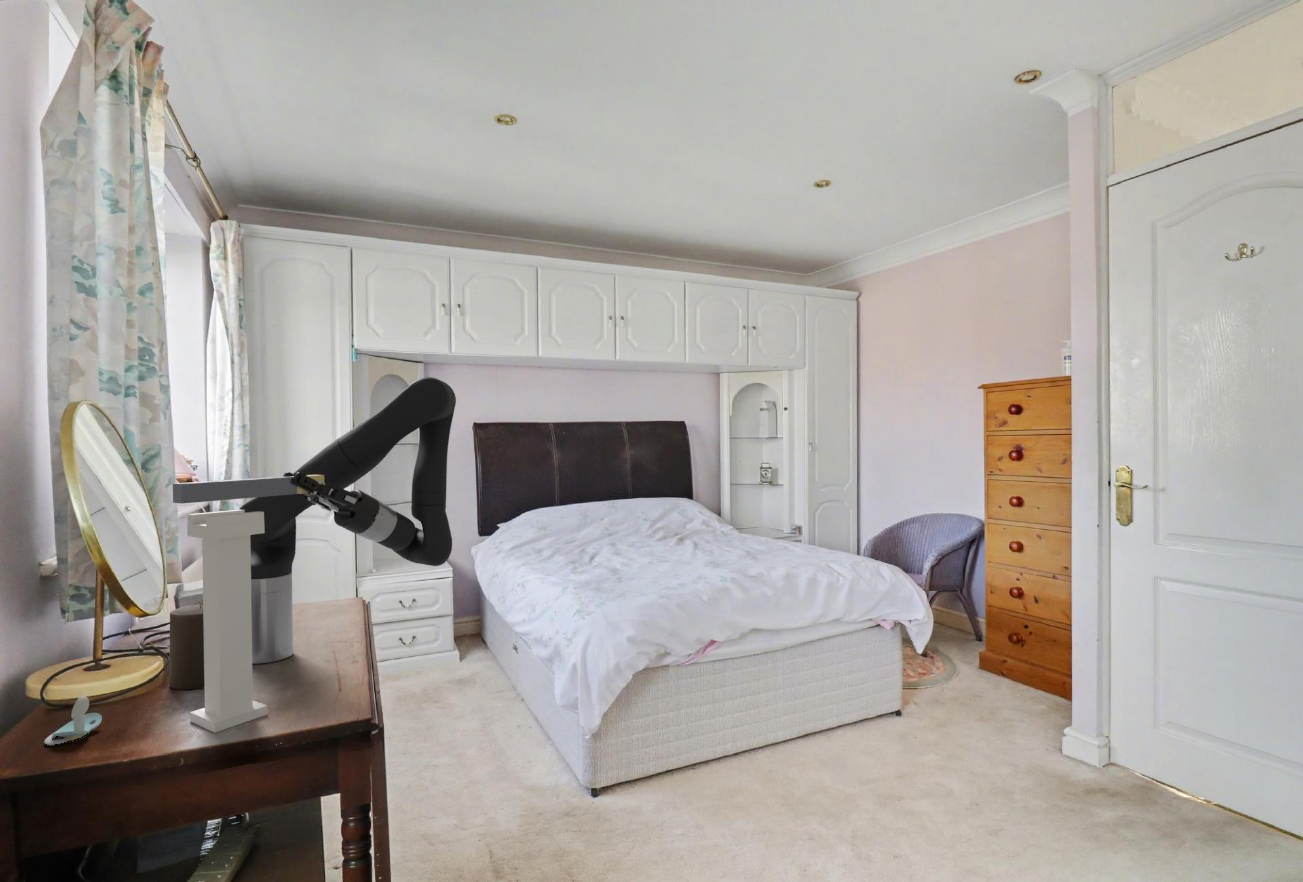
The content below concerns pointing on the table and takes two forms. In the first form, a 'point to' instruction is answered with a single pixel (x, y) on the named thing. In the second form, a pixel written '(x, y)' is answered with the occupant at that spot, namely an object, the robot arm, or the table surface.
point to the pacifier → (76, 723)
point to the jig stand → (227, 617)
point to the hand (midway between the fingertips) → (289, 477)
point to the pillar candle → (187, 648)
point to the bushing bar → (237, 489)
